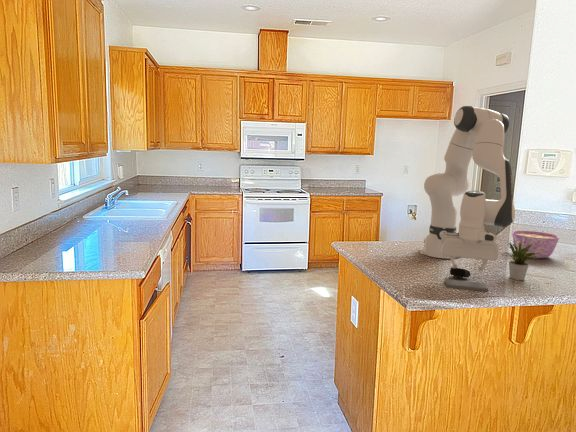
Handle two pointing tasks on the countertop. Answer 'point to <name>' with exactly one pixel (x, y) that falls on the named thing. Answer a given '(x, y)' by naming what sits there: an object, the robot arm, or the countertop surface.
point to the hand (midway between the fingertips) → (467, 269)
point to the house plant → (519, 261)
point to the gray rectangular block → (466, 285)
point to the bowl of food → (536, 242)
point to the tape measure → (459, 272)
